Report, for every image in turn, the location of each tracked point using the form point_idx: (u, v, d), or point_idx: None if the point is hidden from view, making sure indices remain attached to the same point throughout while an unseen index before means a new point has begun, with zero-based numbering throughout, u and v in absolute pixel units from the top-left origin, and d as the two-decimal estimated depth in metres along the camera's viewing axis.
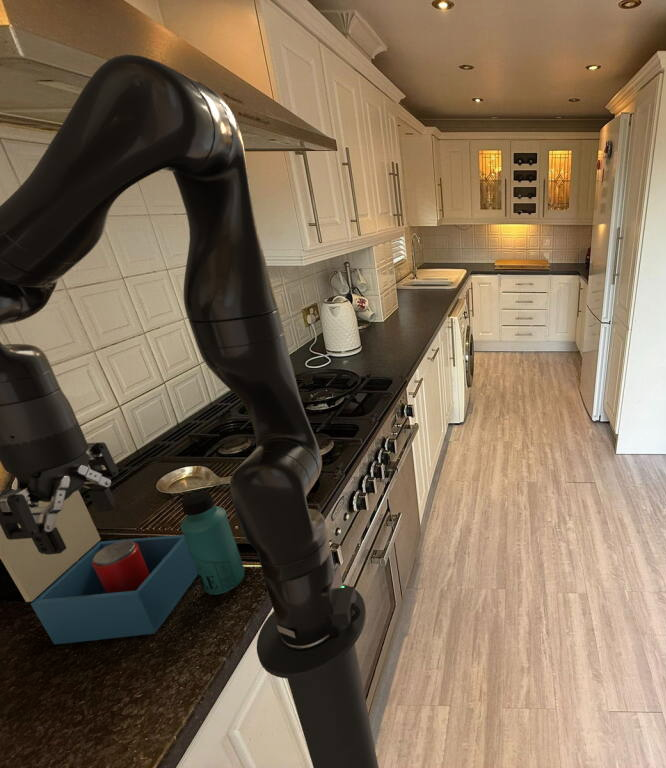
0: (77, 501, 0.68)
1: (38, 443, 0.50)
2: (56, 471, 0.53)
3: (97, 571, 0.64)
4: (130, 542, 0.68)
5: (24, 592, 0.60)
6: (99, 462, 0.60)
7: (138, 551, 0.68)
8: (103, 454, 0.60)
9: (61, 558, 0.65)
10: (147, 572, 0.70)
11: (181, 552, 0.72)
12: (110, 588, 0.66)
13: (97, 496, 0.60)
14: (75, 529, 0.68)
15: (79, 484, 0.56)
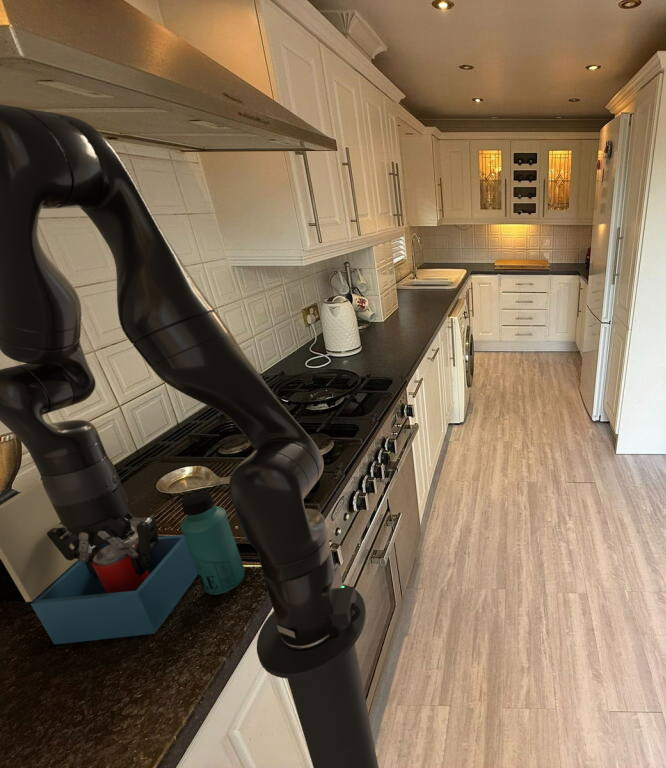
0: None
1: (52, 504, 0.59)
2: None
3: (97, 571, 0.64)
4: None
5: (24, 592, 0.60)
6: None
7: None
8: (138, 533, 0.64)
9: (61, 558, 0.65)
10: (147, 572, 0.70)
11: (181, 552, 0.72)
12: (110, 588, 0.66)
13: None
14: None
15: None
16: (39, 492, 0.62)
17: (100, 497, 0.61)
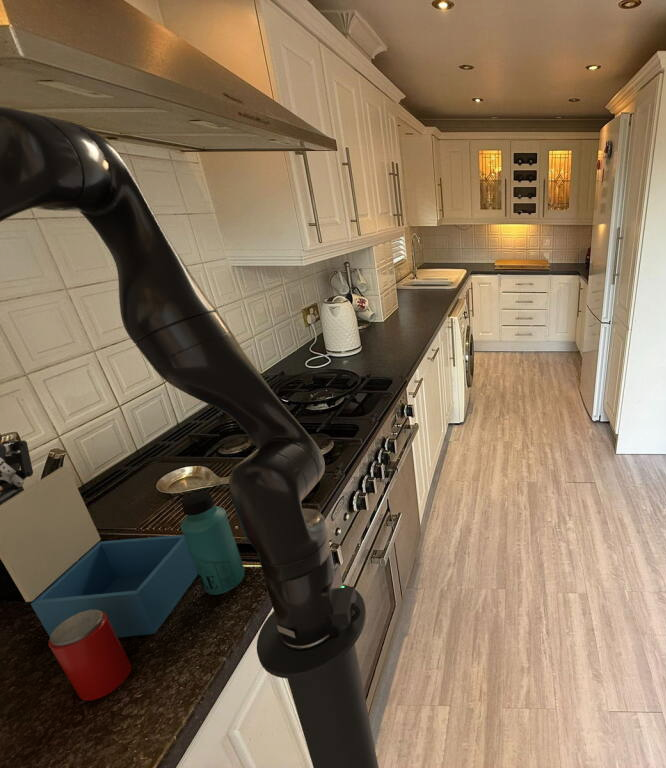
0: (77, 501, 0.68)
1: None
2: None
3: (55, 653, 0.53)
4: (97, 612, 0.57)
5: (24, 592, 0.60)
6: (15, 460, 0.64)
7: (106, 623, 0.56)
8: (21, 451, 0.64)
9: (61, 558, 0.65)
10: (118, 646, 0.58)
11: (181, 552, 0.72)
12: (71, 672, 0.54)
13: None
14: (75, 529, 0.68)
15: None
16: (39, 492, 0.62)
17: None
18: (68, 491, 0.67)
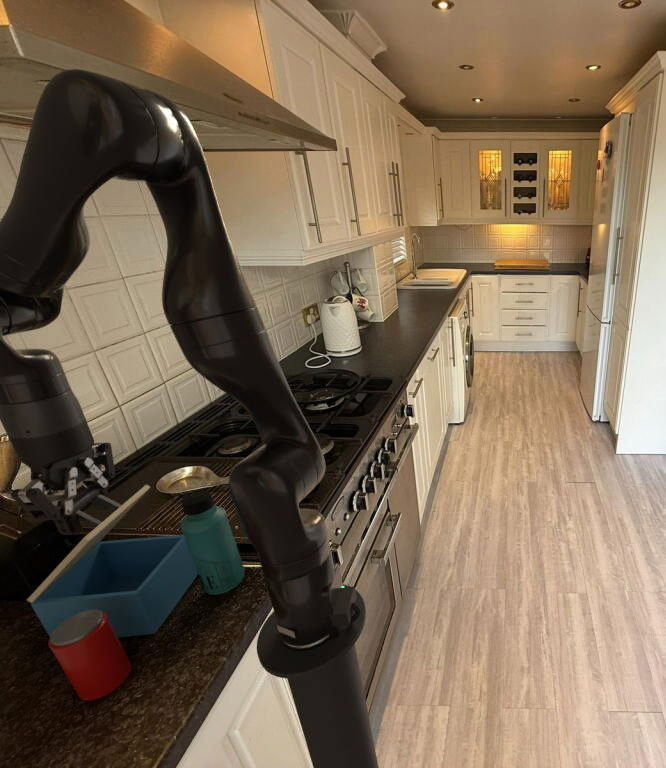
0: (125, 513, 0.70)
1: (50, 437, 0.56)
2: (65, 463, 0.59)
3: (55, 653, 0.53)
4: (97, 612, 0.57)
5: (36, 594, 0.60)
6: (101, 461, 0.66)
7: (106, 623, 0.56)
8: (106, 453, 0.66)
9: (75, 562, 0.66)
10: (118, 646, 0.58)
11: (181, 552, 0.72)
12: (71, 672, 0.54)
13: None
14: (102, 536, 0.69)
15: (85, 475, 0.62)
16: (123, 511, 0.65)
17: None
18: (131, 507, 0.69)
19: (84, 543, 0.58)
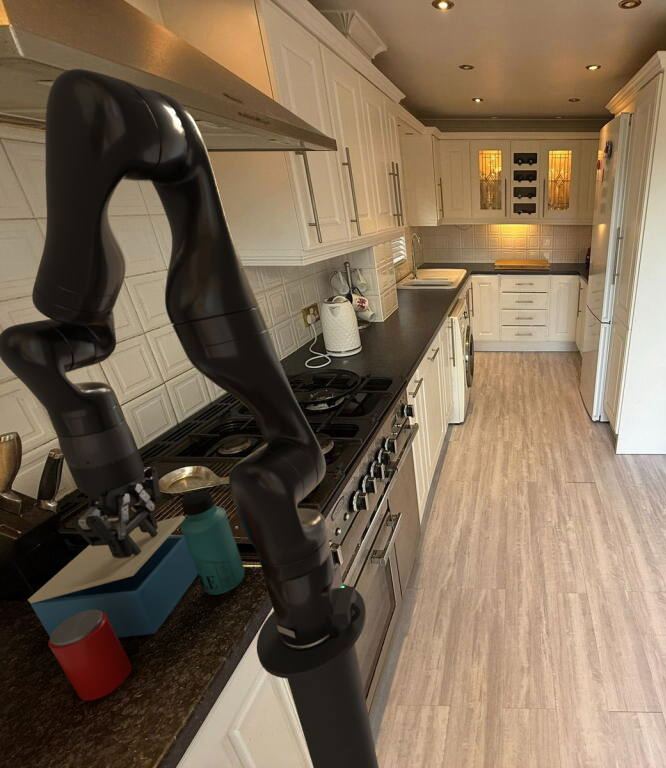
0: None
1: (108, 467, 0.58)
2: (118, 489, 0.61)
3: (55, 653, 0.53)
4: (97, 612, 0.57)
5: (42, 598, 0.60)
6: (147, 485, 0.68)
7: (106, 623, 0.56)
8: (153, 478, 0.68)
9: None
10: (118, 646, 0.58)
11: (181, 552, 0.72)
12: (71, 672, 0.54)
13: None
14: None
15: (135, 500, 0.65)
16: None
17: None
18: None
19: (127, 576, 0.61)
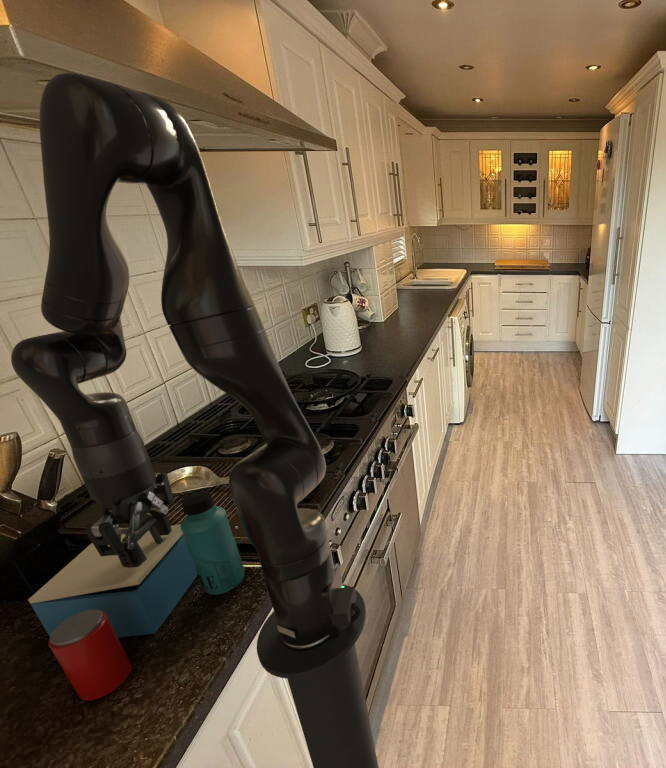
0: None
1: (120, 476, 0.59)
2: (131, 498, 0.62)
3: (55, 653, 0.53)
4: (97, 612, 0.57)
5: (43, 600, 0.60)
6: (160, 491, 0.69)
7: (106, 623, 0.56)
8: (164, 483, 0.69)
9: None
10: (118, 646, 0.58)
11: (181, 552, 0.72)
12: (71, 672, 0.54)
13: (157, 522, 0.69)
14: None
15: (147, 508, 0.65)
16: None
17: None
18: None
19: (133, 584, 0.62)
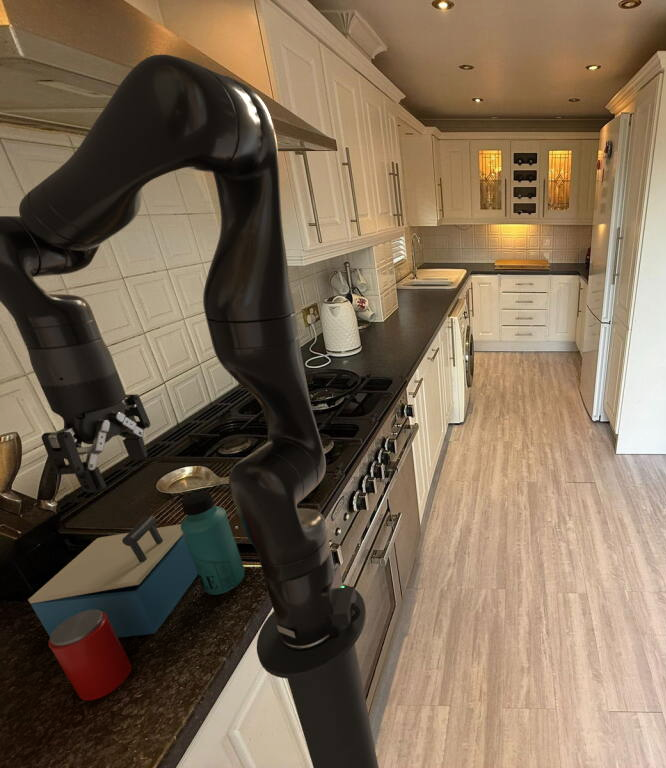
0: None
1: (83, 386, 0.54)
2: (97, 415, 0.57)
3: (55, 653, 0.53)
4: (97, 612, 0.57)
5: (43, 600, 0.60)
6: (133, 413, 0.64)
7: (106, 623, 0.56)
8: (137, 405, 0.64)
9: None
10: (118, 646, 0.58)
11: (181, 552, 0.72)
12: (71, 672, 0.54)
13: (132, 445, 0.64)
14: None
15: (117, 430, 0.60)
16: None
17: None
18: None
19: (133, 584, 0.62)
